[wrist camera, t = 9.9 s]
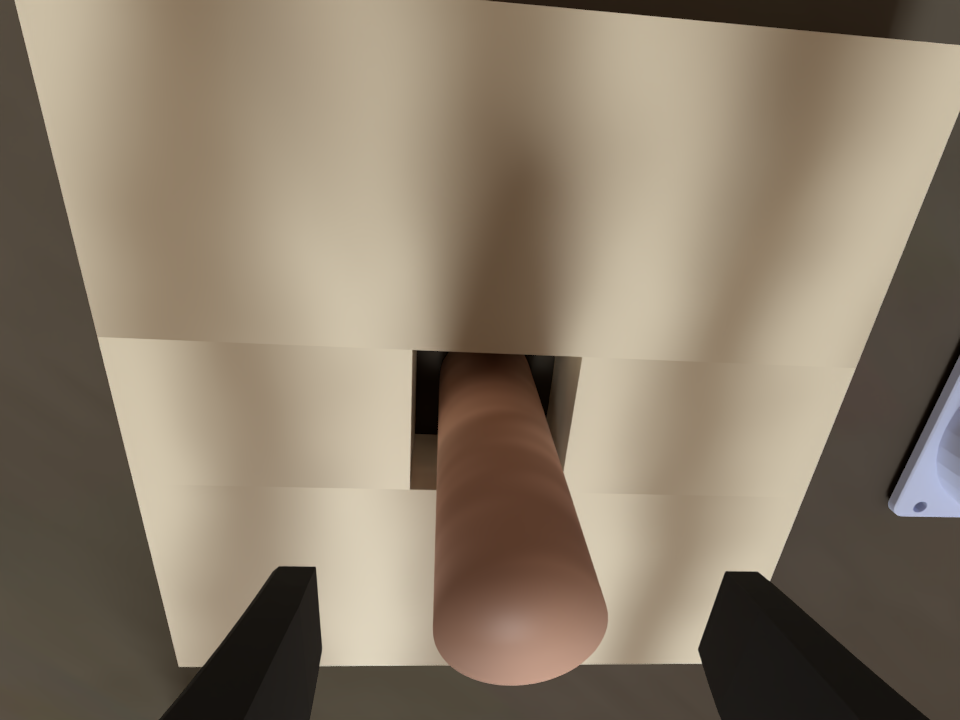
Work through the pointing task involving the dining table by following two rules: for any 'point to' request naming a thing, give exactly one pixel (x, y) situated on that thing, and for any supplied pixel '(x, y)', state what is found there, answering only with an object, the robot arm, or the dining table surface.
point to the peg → (507, 532)
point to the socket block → (474, 279)
